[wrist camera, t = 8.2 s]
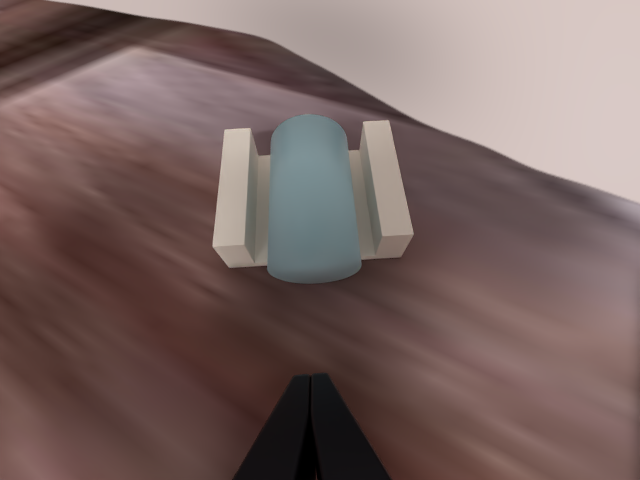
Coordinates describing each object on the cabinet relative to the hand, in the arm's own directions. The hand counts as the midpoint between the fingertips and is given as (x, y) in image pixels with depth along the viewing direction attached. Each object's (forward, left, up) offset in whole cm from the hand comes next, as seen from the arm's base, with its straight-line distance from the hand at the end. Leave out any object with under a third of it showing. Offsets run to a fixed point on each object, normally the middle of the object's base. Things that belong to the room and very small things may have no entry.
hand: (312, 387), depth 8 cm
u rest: (+11, -1, -8) cm, 14 cm away
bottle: (+5, -1, -6) cm, 8 cm away
